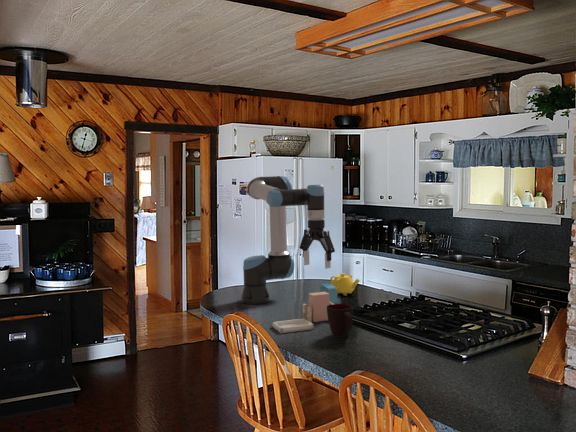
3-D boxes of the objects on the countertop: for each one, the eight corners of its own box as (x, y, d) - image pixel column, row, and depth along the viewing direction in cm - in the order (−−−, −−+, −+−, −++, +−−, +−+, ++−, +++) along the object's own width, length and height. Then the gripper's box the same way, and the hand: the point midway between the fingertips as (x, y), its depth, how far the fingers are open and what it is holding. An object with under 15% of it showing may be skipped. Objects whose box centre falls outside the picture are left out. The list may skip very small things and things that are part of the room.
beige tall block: (309, 319, 261) (308, 293, 260) (325, 317, 264) (324, 291, 263) (313, 321, 257) (313, 295, 256) (329, 319, 260) (329, 293, 258)
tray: (272, 326, 250) (272, 322, 250) (304, 322, 255) (304, 318, 255) (280, 333, 240) (280, 328, 240) (313, 329, 245) (313, 324, 245)
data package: (337, 312, 272) (337, 287, 271) (328, 313, 271) (328, 288, 270) (328, 306, 284) (328, 282, 283) (320, 307, 282) (319, 283, 281)
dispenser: (302, 318, 262) (302, 303, 261) (328, 315, 266) (328, 301, 266) (309, 323, 254) (309, 307, 254) (336, 319, 259) (335, 304, 258)
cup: (345, 330, 242) (344, 302, 241) (361, 339, 229) (361, 310, 228) (323, 333, 238) (323, 305, 237) (339, 342, 225) (338, 312, 224)
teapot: (360, 295, 307) (360, 275, 306) (336, 297, 304) (335, 276, 303) (351, 290, 321) (351, 270, 320) (328, 291, 318) (327, 271, 317)
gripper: (291, 218, 262) (292, 264, 264) (330, 221, 243) (331, 270, 245) (303, 217, 267) (304, 262, 269) (342, 220, 248) (343, 268, 250)
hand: (317, 266), depth 257 cm, fingers open, 13 cm apart
